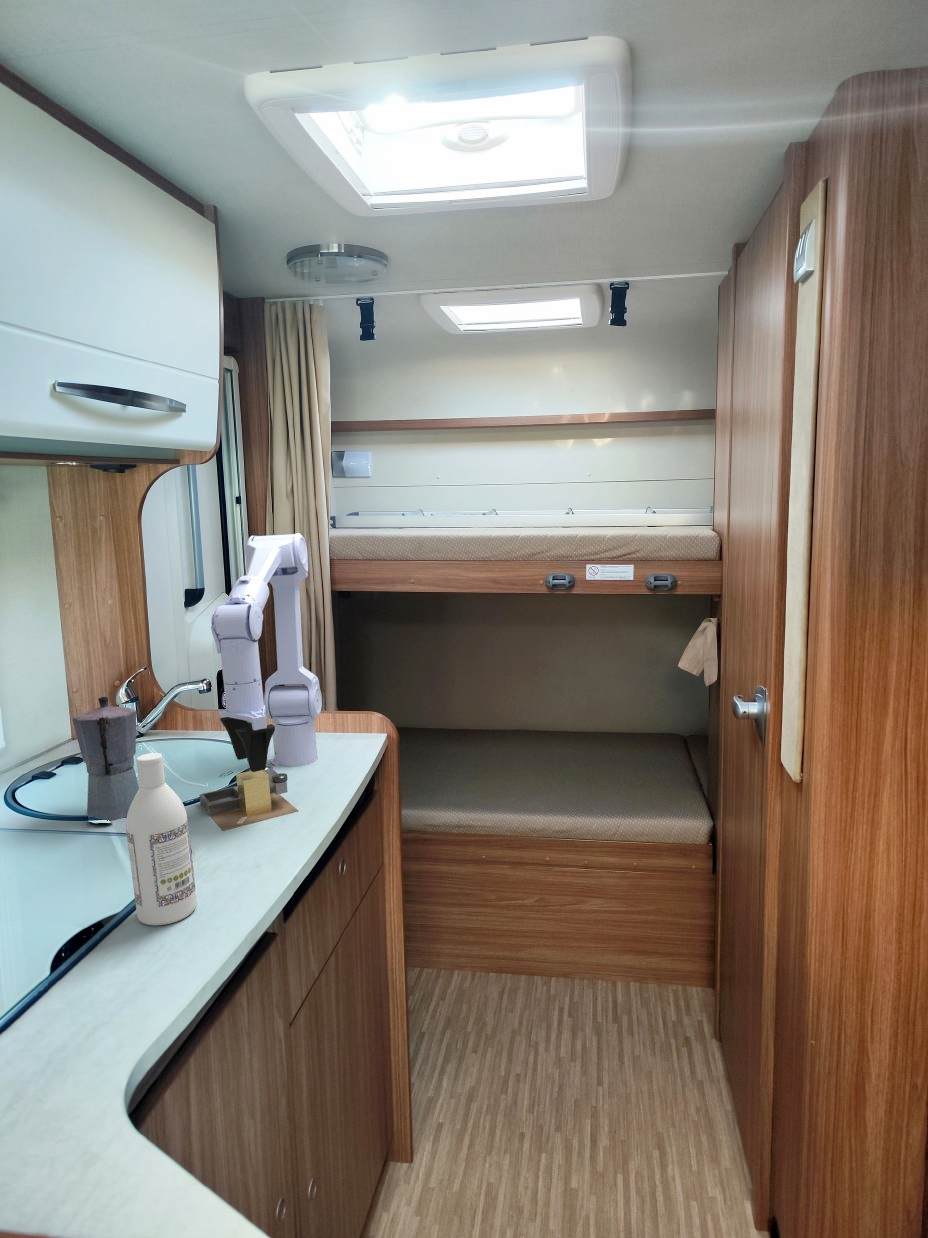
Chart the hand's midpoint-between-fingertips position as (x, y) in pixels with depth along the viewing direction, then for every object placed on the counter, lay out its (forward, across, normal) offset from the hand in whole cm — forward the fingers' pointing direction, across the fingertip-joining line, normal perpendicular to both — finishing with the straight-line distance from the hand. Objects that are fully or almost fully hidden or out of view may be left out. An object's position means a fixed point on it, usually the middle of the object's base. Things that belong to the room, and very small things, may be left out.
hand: (250, 764), depth 125 cm
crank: (+8, -3, +4) cm, 9 cm away
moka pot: (+9, -15, -18) cm, 26 cm away
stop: (+8, 0, 0) cm, 8 cm away
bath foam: (+9, +24, -18) cm, 31 cm away
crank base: (+9, -2, 0) cm, 9 cm away
